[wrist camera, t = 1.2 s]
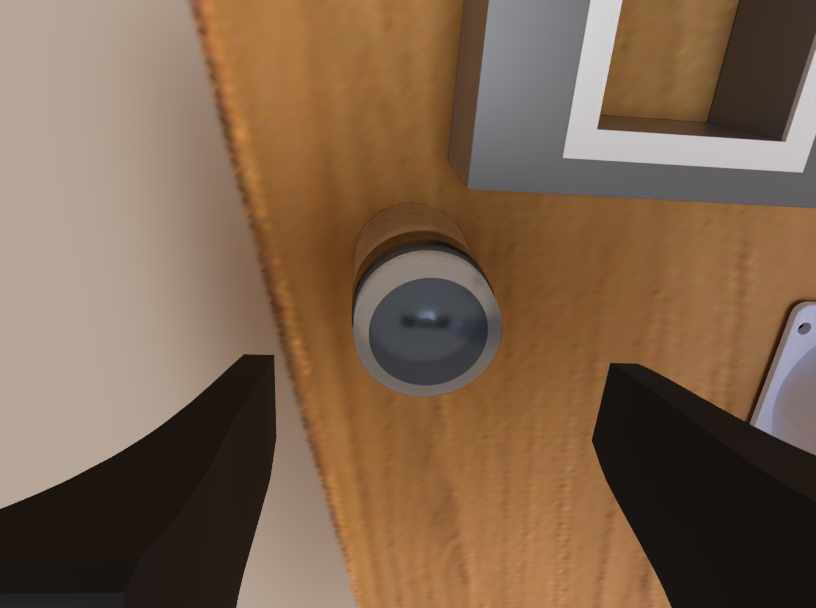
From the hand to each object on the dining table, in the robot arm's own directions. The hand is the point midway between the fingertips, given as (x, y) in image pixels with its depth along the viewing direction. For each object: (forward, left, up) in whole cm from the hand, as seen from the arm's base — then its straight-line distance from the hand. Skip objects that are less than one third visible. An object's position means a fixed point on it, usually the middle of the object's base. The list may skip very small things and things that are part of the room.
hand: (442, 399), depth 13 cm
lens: (0, 0, -9) cm, 9 cm away
